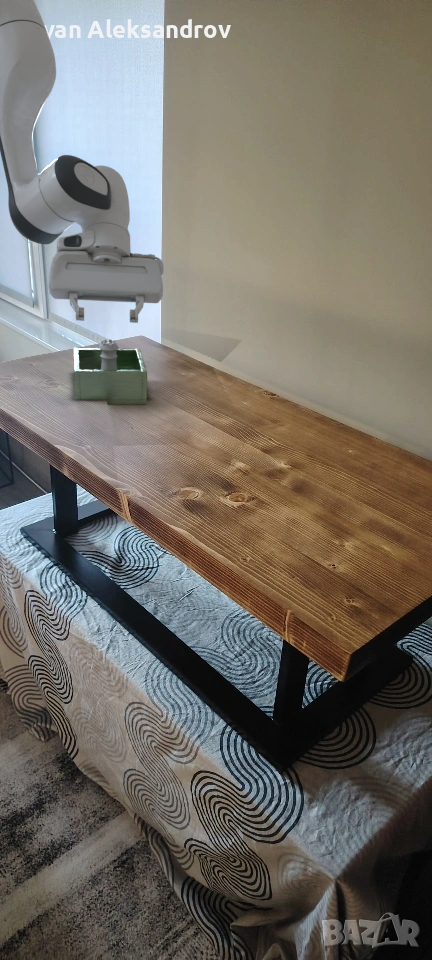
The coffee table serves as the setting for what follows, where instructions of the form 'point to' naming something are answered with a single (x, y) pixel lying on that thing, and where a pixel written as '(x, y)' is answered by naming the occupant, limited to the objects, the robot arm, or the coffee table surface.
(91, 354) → the green planter box
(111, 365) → the rook chess piece
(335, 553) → the coffee table surface
